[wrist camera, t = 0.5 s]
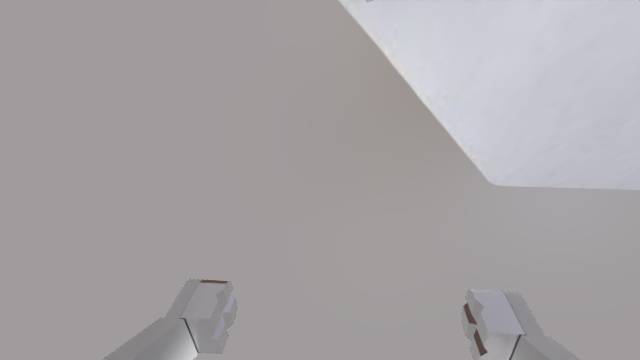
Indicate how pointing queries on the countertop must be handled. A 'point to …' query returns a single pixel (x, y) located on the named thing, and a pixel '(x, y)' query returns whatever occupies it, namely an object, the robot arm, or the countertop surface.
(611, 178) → the countertop surface
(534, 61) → the countertop surface
